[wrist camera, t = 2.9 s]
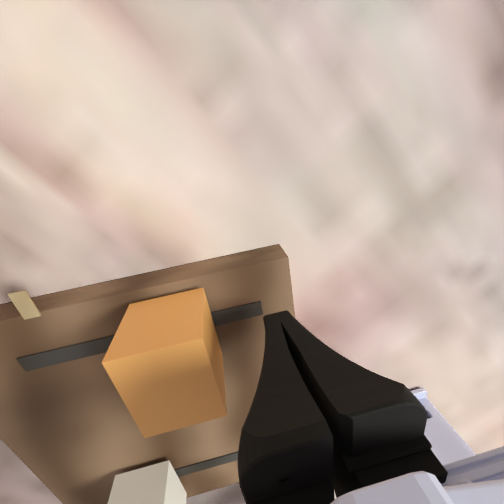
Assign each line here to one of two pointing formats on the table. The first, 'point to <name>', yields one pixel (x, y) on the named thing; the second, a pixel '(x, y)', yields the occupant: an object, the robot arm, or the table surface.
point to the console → (105, 393)
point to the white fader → (148, 486)
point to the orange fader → (168, 363)
